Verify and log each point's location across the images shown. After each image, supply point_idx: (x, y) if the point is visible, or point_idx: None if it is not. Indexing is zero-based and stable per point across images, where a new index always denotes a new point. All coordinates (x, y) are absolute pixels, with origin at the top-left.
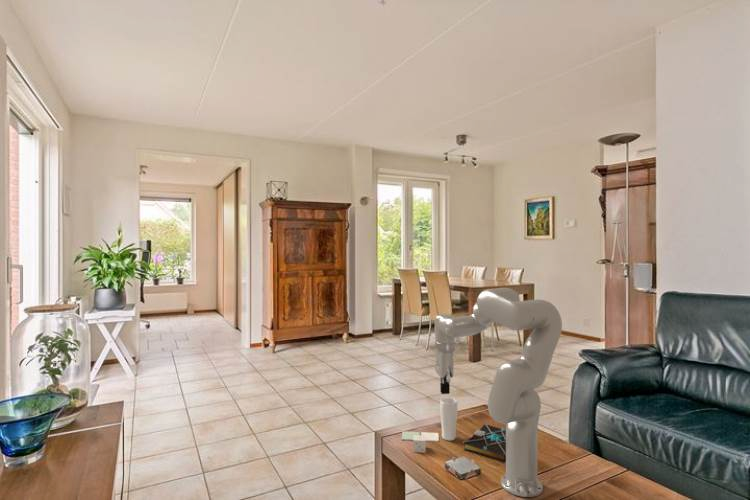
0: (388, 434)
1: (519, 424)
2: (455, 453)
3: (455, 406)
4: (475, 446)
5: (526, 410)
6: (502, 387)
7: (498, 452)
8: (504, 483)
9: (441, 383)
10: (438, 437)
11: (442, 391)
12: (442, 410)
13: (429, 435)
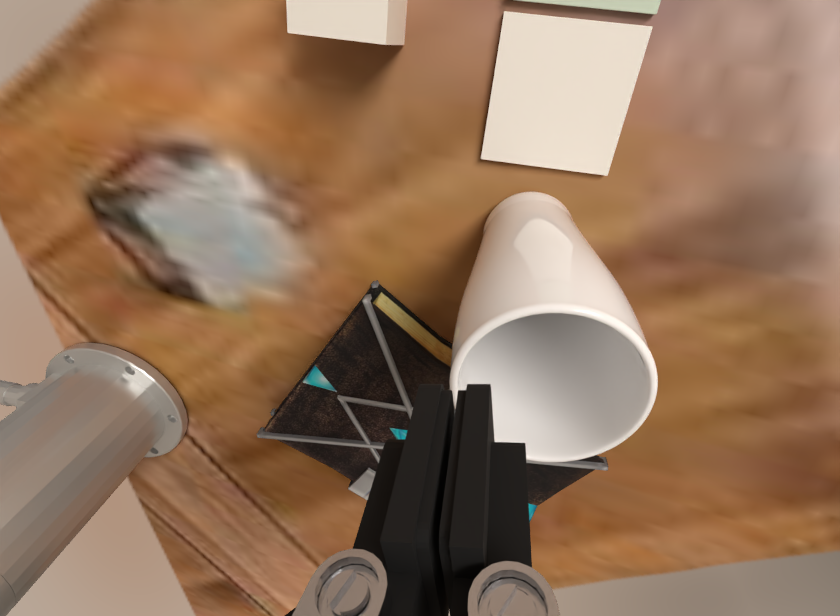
0: None
1: None
2: (332, 230)
3: None
4: (333, 345)
5: None
6: None
7: (282, 416)
8: (85, 356)
9: (407, 546)
10: (531, 164)
11: (417, 420)
12: (494, 272)
13: (575, 99)
